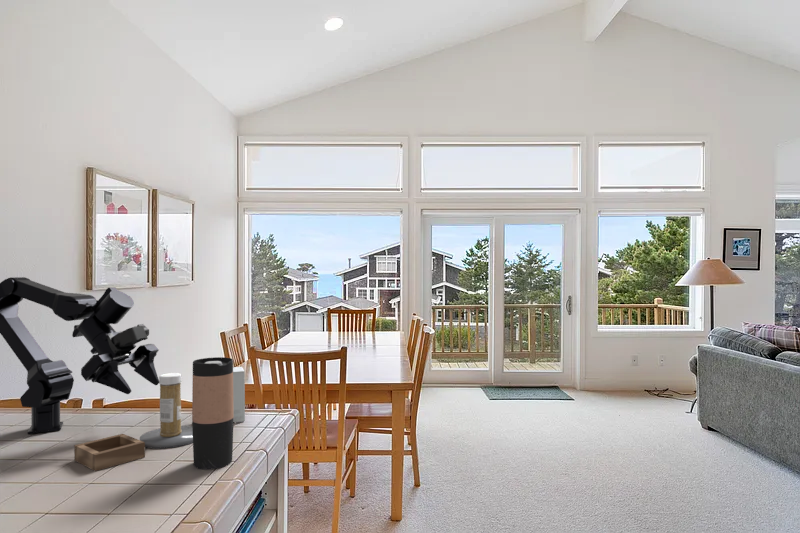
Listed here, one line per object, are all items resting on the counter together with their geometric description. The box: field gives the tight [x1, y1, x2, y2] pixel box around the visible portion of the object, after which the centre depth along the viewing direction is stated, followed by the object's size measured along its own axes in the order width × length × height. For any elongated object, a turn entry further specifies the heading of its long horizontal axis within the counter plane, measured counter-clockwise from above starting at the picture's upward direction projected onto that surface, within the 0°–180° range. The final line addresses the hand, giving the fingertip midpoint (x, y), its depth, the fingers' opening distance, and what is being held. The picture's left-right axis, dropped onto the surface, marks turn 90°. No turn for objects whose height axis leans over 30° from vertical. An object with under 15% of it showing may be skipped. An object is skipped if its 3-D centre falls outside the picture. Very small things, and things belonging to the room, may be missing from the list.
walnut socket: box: [73, 433, 146, 472], centre depth 107 cm, size 9×9×3 cm
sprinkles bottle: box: [158, 372, 182, 437], centre depth 119 cm, size 5×5×14 cm
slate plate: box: [139, 425, 193, 449], centre depth 120 cm, size 13×13×1 cm
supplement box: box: [233, 366, 246, 423], centre depth 135 cm, size 7×7×13 cm
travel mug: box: [191, 356, 234, 470], centre depth 105 cm, size 8×8×20 cm
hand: (144, 388), depth 121 cm, fingers open, 9 cm apart
